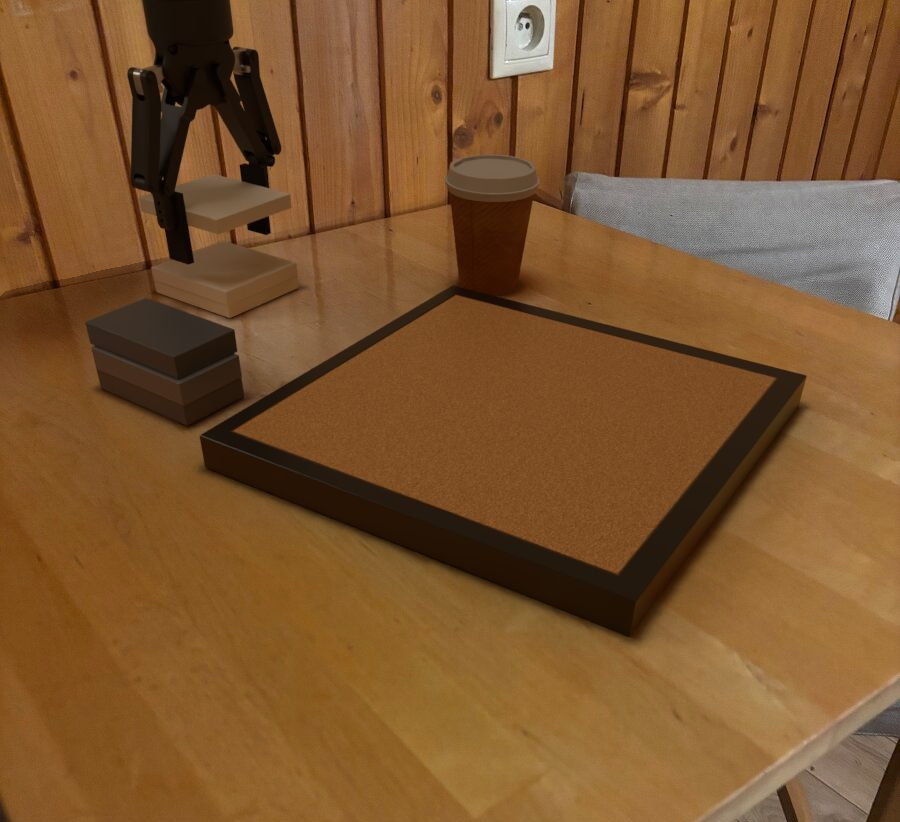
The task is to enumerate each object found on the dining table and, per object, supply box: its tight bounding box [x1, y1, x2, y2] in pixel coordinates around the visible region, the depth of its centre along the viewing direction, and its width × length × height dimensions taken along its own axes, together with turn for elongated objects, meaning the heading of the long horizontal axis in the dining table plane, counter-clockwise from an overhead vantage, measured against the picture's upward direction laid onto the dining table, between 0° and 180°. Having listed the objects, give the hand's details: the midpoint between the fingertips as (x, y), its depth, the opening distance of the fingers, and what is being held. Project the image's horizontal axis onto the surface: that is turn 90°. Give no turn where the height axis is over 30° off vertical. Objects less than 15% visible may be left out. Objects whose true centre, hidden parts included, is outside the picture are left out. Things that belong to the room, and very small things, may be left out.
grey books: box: [84, 297, 245, 427], centre depth 79 cm, size 12×7×6 cm, turn 54°
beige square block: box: [150, 240, 300, 319], centre depth 98 cm, size 11×10×3 cm
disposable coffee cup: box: [444, 153, 541, 296], centre depth 97 cm, size 10×10×12 cm
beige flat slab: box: [138, 173, 292, 235], centre depth 93 cm, size 11×10×1 cm
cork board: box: [199, 285, 808, 637], centre depth 75 cm, size 36×3×35 cm
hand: (221, 245), depth 96 cm, fingers closed on beige flat slab, 10 cm apart
